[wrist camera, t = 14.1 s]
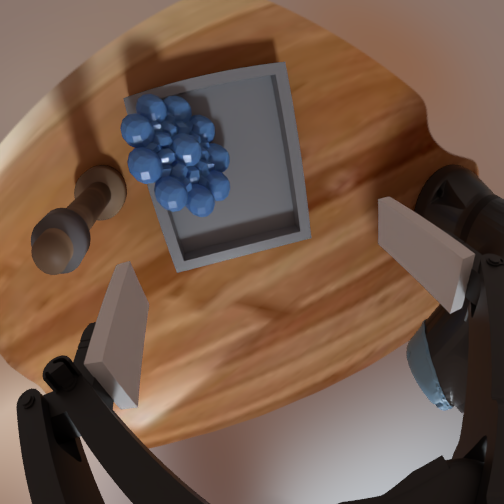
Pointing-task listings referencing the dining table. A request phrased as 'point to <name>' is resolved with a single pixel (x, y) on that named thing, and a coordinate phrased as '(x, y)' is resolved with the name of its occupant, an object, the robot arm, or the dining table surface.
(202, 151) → the grapes
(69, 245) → the post
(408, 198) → the dining table surface
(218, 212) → the holder tray
